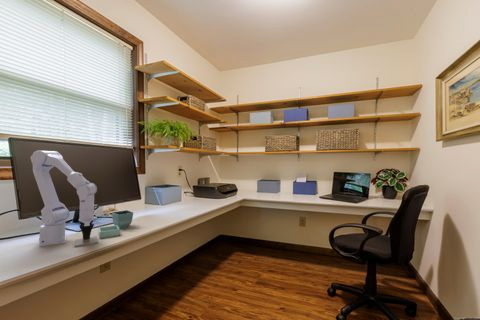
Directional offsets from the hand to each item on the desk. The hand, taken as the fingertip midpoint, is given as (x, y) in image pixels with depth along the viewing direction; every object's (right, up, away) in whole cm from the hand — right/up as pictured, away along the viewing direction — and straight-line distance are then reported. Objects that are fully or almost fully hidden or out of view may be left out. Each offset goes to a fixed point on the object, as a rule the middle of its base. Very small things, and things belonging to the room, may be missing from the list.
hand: (86, 237), depth 108 cm
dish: (+4, -3, +12) cm, 12 cm away
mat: (0, -3, 0) cm, 3 cm away
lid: (0, -2, 0) cm, 2 cm away
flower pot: (+4, -3, +25) cm, 26 cm away
